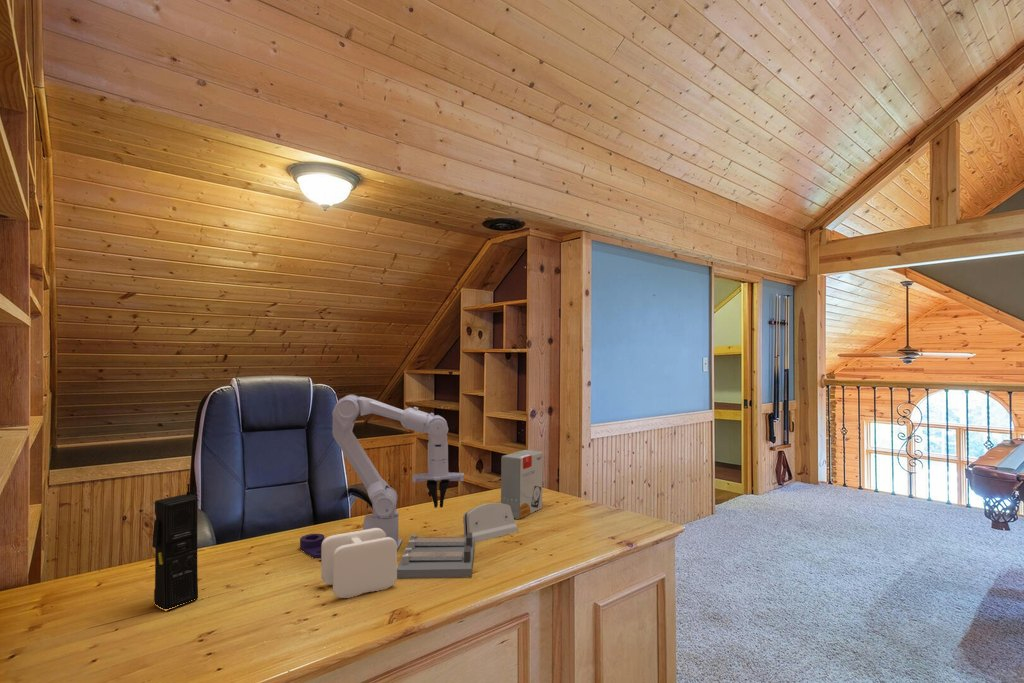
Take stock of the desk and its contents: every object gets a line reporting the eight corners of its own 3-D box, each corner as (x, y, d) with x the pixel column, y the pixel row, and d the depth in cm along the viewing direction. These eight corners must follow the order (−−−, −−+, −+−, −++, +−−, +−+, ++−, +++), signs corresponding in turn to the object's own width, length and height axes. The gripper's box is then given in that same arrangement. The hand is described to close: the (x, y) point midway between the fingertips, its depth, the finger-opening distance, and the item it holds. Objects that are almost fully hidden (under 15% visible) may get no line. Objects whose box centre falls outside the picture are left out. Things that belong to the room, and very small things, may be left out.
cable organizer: (330, 604, 114) (330, 550, 114) (320, 585, 123) (320, 535, 124) (397, 588, 122) (397, 537, 122) (383, 571, 131) (383, 524, 131)
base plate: (396, 578, 127) (396, 559, 127) (410, 544, 149) (410, 528, 149) (471, 577, 127) (471, 558, 128) (474, 544, 149) (474, 527, 150)
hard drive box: (519, 520, 170) (519, 458, 171) (499, 516, 175) (499, 456, 175) (543, 508, 183) (543, 451, 184) (524, 505, 188) (524, 448, 188)
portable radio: (160, 615, 109) (162, 494, 110) (147, 607, 113) (148, 490, 113) (200, 599, 116) (201, 485, 117) (185, 593, 119) (187, 482, 120)
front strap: (403, 561, 131) (403, 555, 131) (405, 556, 134) (405, 551, 134) (462, 561, 132) (462, 555, 132) (462, 556, 135) (462, 550, 135)
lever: (297, 547, 148) (297, 536, 148) (320, 543, 151) (320, 532, 151) (308, 561, 138) (308, 549, 138) (332, 556, 141) (332, 544, 141)
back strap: (409, 546, 141) (409, 541, 141) (411, 542, 144) (411, 537, 144) (464, 546, 142) (464, 541, 142) (464, 542, 145) (465, 537, 145)
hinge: (472, 543, 150) (466, 507, 153) (464, 544, 154) (458, 509, 157) (520, 532, 159) (513, 498, 162) (511, 533, 163) (505, 500, 166)
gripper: (410, 462, 146) (410, 511, 146) (462, 461, 147) (463, 510, 146) (414, 457, 153) (415, 504, 153) (464, 456, 154) (464, 502, 153)
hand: (438, 506), depth 150 cm, fingers closed
